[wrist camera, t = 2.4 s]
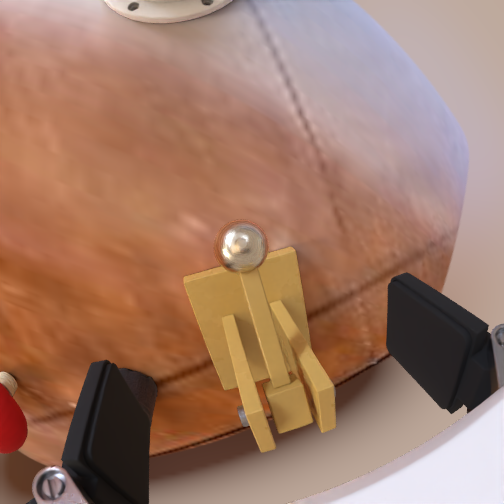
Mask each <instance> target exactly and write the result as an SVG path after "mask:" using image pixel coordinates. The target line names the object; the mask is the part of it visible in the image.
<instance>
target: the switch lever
mask: <svg viewBox="0 0 504 504" xmlns="http://www.w3.org/2000/svg"><path fill="white" fill-rule="evenodd" d="M268 251H269V243H268V239H267V236H266V234H265V232H264V231H263V230H262V229H261V227H259V226H258V225H257V224H255V223H254V222H251V221H248V220H234V221H231V222H229V223H227V224H225V225H224V226H223V227H222V228H221V229H220V230H219V231H218V233H217V235H216V237H215V240H214V254H215V257H216V259H217V261H218V263H219V264H220V265H221V266H222V267H223V268H224V269H225V270H227V271H228V272H230V273H233V274H238V275H239V277H240V280H241V284H242V287H243V291H244V294H245V298H246V301H247V304H248V308H249V311H250V315H251V318H252V321H253V325H254V328H255V332H256V335H257V338H258V342H259V345H260V348H261V351H262V355H263V358H264V361H265V365H266V368H267V371H268V374H269V378H270V381H269V382H266V383H263V384H262V386H263V389H264V393H265V396H266V399H267V402H268V405H269V408H270V411H271V414H272V417H273V420H274V423H275V425H276V428H277V430H278V432H279V433H283V432H287V431H290V430H293V429H296V428H299V427H301V426H304V425H307V424H310V423H312V422H313V418H312V415H311V411H310V407H309V404H308V400H307V397H306V393H305V389H304V386H303V384H302V383H301V382H300V380H299V379H298V378H297V377H296V375H295V374H291V375H289V373H288V370H287V366H286V363H285V359H284V356H283V353H282V349H281V346H280V342H279V339H278V335H277V332H276V328H275V325H274V322H273V318H272V315H271V311H270V308H269V304H268V301H267V297H266V294H265V291H264V287H263V284H262V280H261V277H260V273H259V270H258V269H259V268H260V267H261V266H262V265H263V263H264V262H265V260H266V258H267V255H268Z"/></svg>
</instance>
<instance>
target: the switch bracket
mask: <svg viewBox="0 0 504 504" xmlns="http://www.w3.org/2000/svg"><path fill="white" fill-rule="evenodd" d="M258 270H259V273H260V277H261V280H262V284H263V287H264V291H265V294H266V297H267V301H268V304H269V308H270V311H271V315H272V318H273V322H274V325H275V328H276V332H277V335H278V339H279V342H280V346H281V349H282V353H283V356H284V359H285V363H286V366H287V370H288V372H289V371H292V373H293V374H295V375H296V377H297V378H298V379H299V380H300V382H301V383H302V384H303V386H304V389H305V393H306V397H307V400H308V404H309V407H310V410H311V412H312V414H313V416H314V418H315V420H316V422H317V424H318V426H319V428H320V430H321V432H322V433H324V432H326V431H329V430H331V429H334V428H336V414H335V396H336V391H335V387H334V385H333V382H332V381H331V379H330V378H329V377H328V375H327V374H326V372H325V370H324V369H323V367H322V366H321V364H320V362H319V361H318V359H317V358H316V356H315V354H314V353H313V351H312V349H311V342H310V335H309V328H308V322H307V315H306V309H305V302H304V296H303V290H302V284H301V278H300V272H299V266H298V260H297V254H296V251H295V250H294V249H293V248H292V247H287V248H284V249H280V250H277V251H273V252H270V253H268V255H267V258H266V260H265V262H264V263H263V265H262V266H261V267H260V268H259V269H258ZM184 286H185V289H186V291H187V294H188V297H189V300H190V303H191V306H192V308H193V311H194V314H195V317H196V319H197V322H198V325H199V328H200V330H201V333H202V335H203V338H204V341H205V343H206V346H207V349H208V351H209V354H210V356H211V359H212V361H213V364H214V366H215V369H216V371H217V374H218V376H219V378H220V381H221V383H222V386H223V388H224V390H229V389H233V388H236V387H238V388H239V392H240V396H241V400H242V404H243V405H242V406H238V407H237V409H238V414H239V417H240V420H241V423H242V425H243V426H244V427H246V426H249V425H250V427H251V430H252V432H253V434H254V437H255V439H256V441H257V444H258V446H259V448H260V451H261V452H266V451H270V450H273V449H276V445H275V442H274V439H273V436H272V434H271V431H270V428H269V424H268V421H267V418H266V415H265V412H264V409H263V406H262V403H261V400H260V397H259V394H258V391H257V388H256V385H255V382H257V381H261V380H264V379H267V378H269V374H268V371H267V368H266V365H265V361H264V358H263V355H262V351H261V348H260V345H259V342H258V338H257V335H256V332H255V328H254V325H253V321H252V318H251V315H250V311H249V308H248V304H247V301H246V298H245V294H244V291H243V287H242V284H241V280H240V277H239V275H238V274H233V273H230V272H228V271H227V270H225V269H224V268H223V267H222V266H220V267H217V268H213V269H210V270H206V271H202V272H199V273H195V274H192V275H188V276H185V277H184Z"/></svg>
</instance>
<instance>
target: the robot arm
mask: <svg viewBox="0 0 504 504" xmlns="http://www.w3.org/2000/svg"><path fill="white" fill-rule="evenodd" d="M104 1H105V2H106V4H107V5H108V6H109V7H110V8H111V9H112V10H114V11H115V12H117V13H118V14H120V15H122V16H124V17H127V18H129V19H132V20H136V21H141V22H146V23H173V22H181V21H186V20H191V19H195V18H198V17H201V16H204V15H208V14H210V13H212V12H214V11H216V10H218V9H221V8H222V7H224V6H225V5H227V4H228V3H230V2H231V1H233V0H104ZM205 4H209V5H208V6H207V5H205ZM134 9H137V10H134ZM133 10H134V11H133ZM488 326H489V325H487V324H486V323H485V322H483V321H482V320H481V319H479V318H478V317H476V316H475V315H473V314H472V313H470V312H469V311H467V310H466V309H464V308H463V307H461V306H460V305H458V304H457V303H455V302H454V301H452V300H450V299H449V298H447V297H446V296H444V295H443V294H441V293H440V292H438V291H437V290H435V289H433V288H432V287H430V286H429V285H427V284H425V283H424V282H422V281H421V280H419V279H417V278H416V277H414V276H413V275H411V274H409V273H403V274H401V275H398V276H395V277H393V278H392V279H391V283H389V285H388V313H387V339H386V346H387V349H388V351H389V353H390V354H391V355H392V356H393V357H394V358H395V359H396V360H397V361H398V362H399V363H400V364H401V365H402V366H403V368H404V369H405V370H406V371H407V372H408V373H409V374H410V375H411V376H412V377H413V378H414V379H415V380H416V381H417V383H418V384H419V385H420V386H421V387H422V388H423V389H424V390H425V391H426V392H427V393H428V394H429V395H430V396H431V397H432V399H433V400H434V401H435V402H436V403H437V404H438V405H439V406H440V407H441V408H442V409H447V410H448V411H449V412H450V413H451V414H452V413H454V412H455V411H457V410H458V409H459V408H461V407H462V406H463V404H464V405H465V406H466V407H467V414H466V415H465V416H464V417H462V418H461V419H459V420H458V421H457V422H455V423H454V424H452V425H451V426H449V427H448V428H447V429H445V430H444V431H442V432H441V433H439V434H437V435H436V436H435V437H433V438H431V439H430V440H428V441H426V442H425V443H423V444H422V445H420V446H418V447H416V448H415V449H413V450H411V451H409V452H408V453H406V454H404V455H402V456H400V457H399V458H397V459H395V460H393V461H391V462H389V463H387V464H385V465H383V466H381V467H379V468H377V469H375V470H373V471H371V472H369V473H367V474H364V475H362V476H360V477H358V478H355V479H353V480H351V481H348V482H346V483H344V484H341V485H339V486H336V487H334V488H331V489H328V490H326V491H323V492H320V493H318V494H315V495H312V496H309V497H306V498H303V499H299V500H296V501H293V502H290V503H286V504H504V324H500V325H498V326H496V327H495V328H494V329H493V330H492V332H491V334H490V333H489V332H487V330H488ZM149 448H150V420H149V418H148V416H147V414H146V413H145V411H144V410H143V408H142V407H141V405H140V404H139V402H138V400H137V399H136V397H135V396H134V394H133V393H132V391H131V389H130V388H129V386H128V384H127V383H126V381H125V379H124V378H123V376H122V374H121V373H120V371H119V369H118V367H117V366H116V365H115V364H114V363H112V364H111V363H110V362H109V361H108V360H104V361H99V362H93V363H91V365H90V368H89V370H88V373H87V376H86V379H85V382H84V385H83V387H82V390H81V393H80V396H79V400H78V403H77V406H76V409H75V412H74V415H73V419H72V422H71V425H70V429H69V432H68V436H67V440H66V443H65V447H64V451H63V455H62V459H61V460H62V461H63V464H62V467H60V466H55V465H53V466H47V467H45V468H43V469H42V470H41V471H40V472H38V473H37V475H36V476H35V478H34V481H33V485H32V491H33V494H34V498H33V499H32V500H30V501H29V502H28V503H26V504H149Z"/></svg>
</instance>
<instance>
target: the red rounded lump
mask: <svg viewBox="0 0 504 504" xmlns="http://www.w3.org/2000/svg"><path fill="white" fill-rule="evenodd" d="M16 389H17V383H16V381H15V379H14V378H13V376H12V375H11V374H9V373H6V372H0V453H4V454H5V453H11V452H14V451H16V450H18V449H19V448H20V447H21V446H22V445H23V444H24V442H25V440H26V437H27V432H28V429H27V422H26V418H25V416H24V414H23V412H22V410H21V409H20V407H19V405H18V404H17V403H16V401H15V400H14V399H13V395H14V393H15V391H16Z"/></svg>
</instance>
